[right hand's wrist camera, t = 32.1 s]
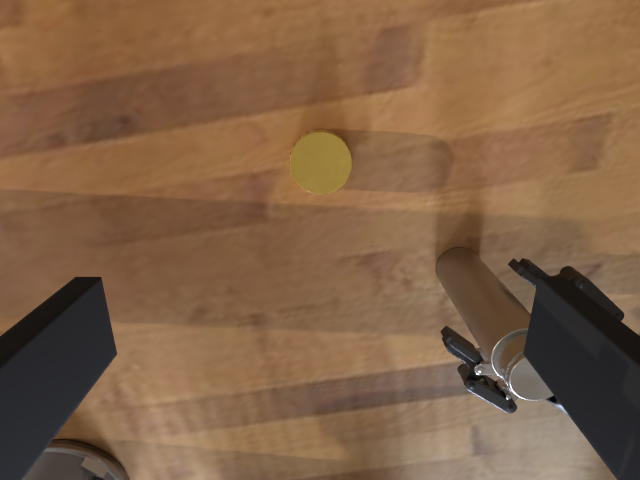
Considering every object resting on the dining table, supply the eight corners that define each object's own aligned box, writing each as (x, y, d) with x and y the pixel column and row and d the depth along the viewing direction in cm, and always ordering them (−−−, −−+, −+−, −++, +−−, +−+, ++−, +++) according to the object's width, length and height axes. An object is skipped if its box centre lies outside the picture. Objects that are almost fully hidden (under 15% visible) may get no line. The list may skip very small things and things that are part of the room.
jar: (428, 278, 43) (491, 393, 27) (447, 240, 41) (527, 338, 25) (466, 292, 43) (551, 412, 27) (487, 255, 42) (589, 360, 26)
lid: (352, 186, 39) (354, 192, 37) (293, 190, 40) (292, 197, 37) (349, 126, 37) (351, 128, 35) (287, 130, 38) (285, 133, 35)
